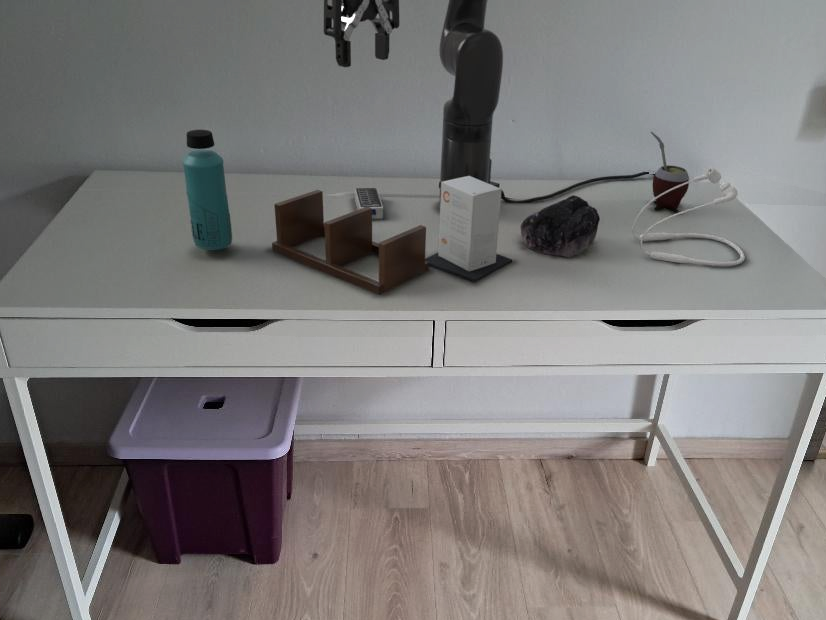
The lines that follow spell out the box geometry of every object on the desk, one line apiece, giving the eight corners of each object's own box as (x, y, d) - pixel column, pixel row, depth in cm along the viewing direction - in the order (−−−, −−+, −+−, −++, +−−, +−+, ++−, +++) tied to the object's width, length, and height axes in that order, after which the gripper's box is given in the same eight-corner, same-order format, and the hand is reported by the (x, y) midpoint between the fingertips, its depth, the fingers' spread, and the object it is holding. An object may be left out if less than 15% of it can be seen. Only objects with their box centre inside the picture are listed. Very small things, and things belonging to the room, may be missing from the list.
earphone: (620, 214, 147) (707, 155, 141) (663, 278, 154) (747, 224, 149) (638, 243, 135) (733, 180, 130) (684, 311, 143) (776, 254, 137)
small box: (496, 263, 134) (503, 188, 127) (468, 272, 130) (473, 195, 123) (464, 247, 139) (469, 174, 132) (436, 256, 135) (440, 181, 128)
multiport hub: (376, 198, 159) (376, 187, 157) (383, 219, 150) (383, 207, 148) (354, 199, 158) (354, 187, 157) (359, 219, 149) (359, 207, 148)
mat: (460, 244, 141) (461, 241, 141) (512, 262, 136) (512, 259, 135) (421, 263, 134) (421, 260, 133) (474, 283, 128) (474, 279, 128)
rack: (324, 230, 143) (322, 187, 139) (429, 270, 131) (431, 224, 127) (272, 250, 135) (268, 205, 131) (379, 295, 123) (379, 247, 119)
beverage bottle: (241, 247, 136) (229, 128, 125) (219, 262, 130) (205, 139, 119) (208, 240, 137) (193, 123, 126) (185, 255, 132) (168, 133, 121)
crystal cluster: (507, 236, 147) (510, 186, 141) (572, 223, 151) (577, 174, 145) (540, 271, 137) (545, 219, 131) (608, 256, 141) (615, 205, 135)
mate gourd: (690, 210, 162) (706, 136, 154) (663, 217, 158) (679, 141, 150) (663, 199, 167) (677, 126, 159) (636, 205, 163) (649, 131, 155)
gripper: (375, -60, 121) (376, 53, 130) (307, -58, 111) (312, 64, 120) (413, -56, 117) (411, 60, 126) (346, -53, 108) (348, 73, 116)
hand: (363, 62), depth 123 cm, fingers open, 8 cm apart
